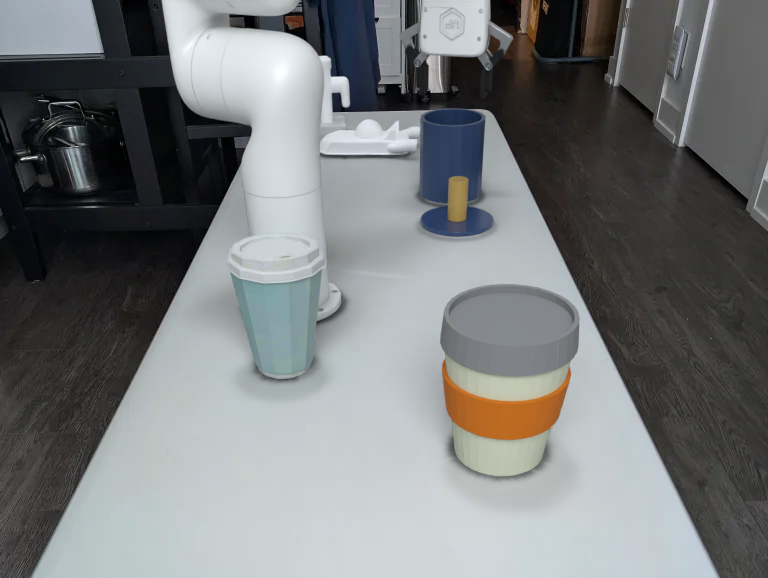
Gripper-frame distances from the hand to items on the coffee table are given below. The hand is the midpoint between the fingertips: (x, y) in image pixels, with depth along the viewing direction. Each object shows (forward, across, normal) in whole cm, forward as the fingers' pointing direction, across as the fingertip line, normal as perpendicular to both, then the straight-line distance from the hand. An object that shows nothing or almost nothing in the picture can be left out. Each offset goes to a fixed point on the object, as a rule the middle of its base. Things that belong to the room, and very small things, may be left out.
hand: (453, 95), depth 126 cm
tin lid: (+15, +4, -13) cm, 20 cm away
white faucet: (+16, -31, +25) cm, 43 cm away
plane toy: (+16, -21, +20) cm, 33 cm away
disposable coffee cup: (+16, -6, -60) cm, 62 cm away
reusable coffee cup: (+16, +21, -70) cm, 75 cm away
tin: (+16, 0, 0) cm, 16 cm away
